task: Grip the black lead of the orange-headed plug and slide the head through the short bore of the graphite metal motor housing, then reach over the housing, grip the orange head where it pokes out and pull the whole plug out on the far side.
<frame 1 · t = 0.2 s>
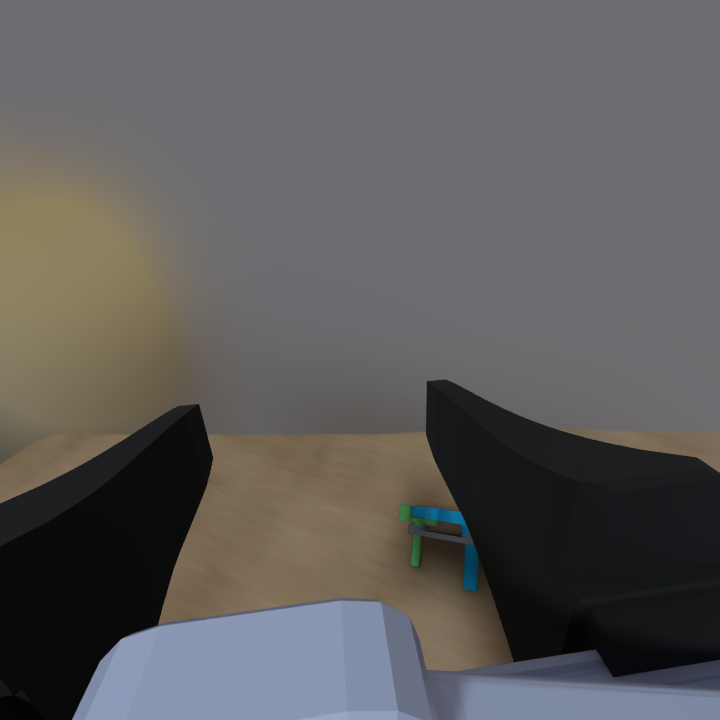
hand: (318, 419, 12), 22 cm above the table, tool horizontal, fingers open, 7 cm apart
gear: (464, 555, 32), on the table
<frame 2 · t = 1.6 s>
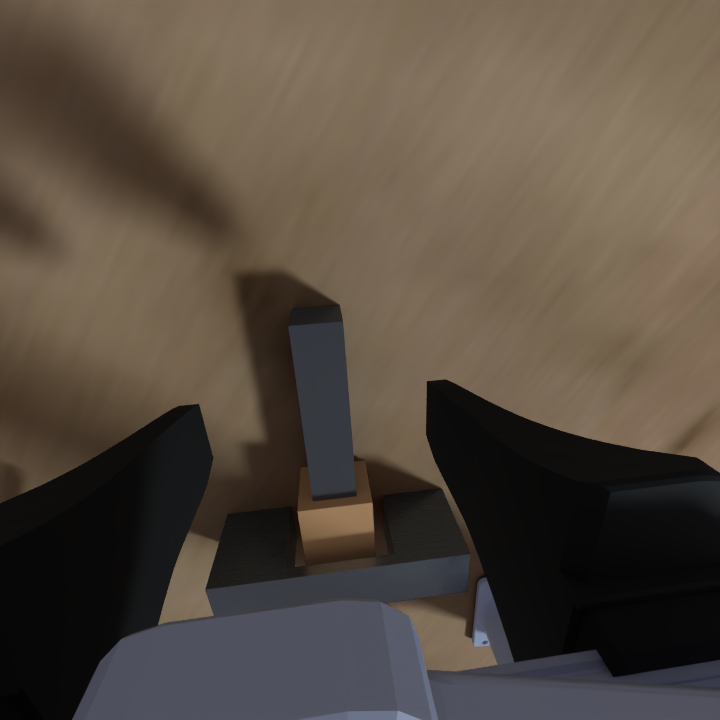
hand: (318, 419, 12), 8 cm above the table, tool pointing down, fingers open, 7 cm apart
housing: (338, 518, 25), on the table
plug: (336, 494, 24), on the table
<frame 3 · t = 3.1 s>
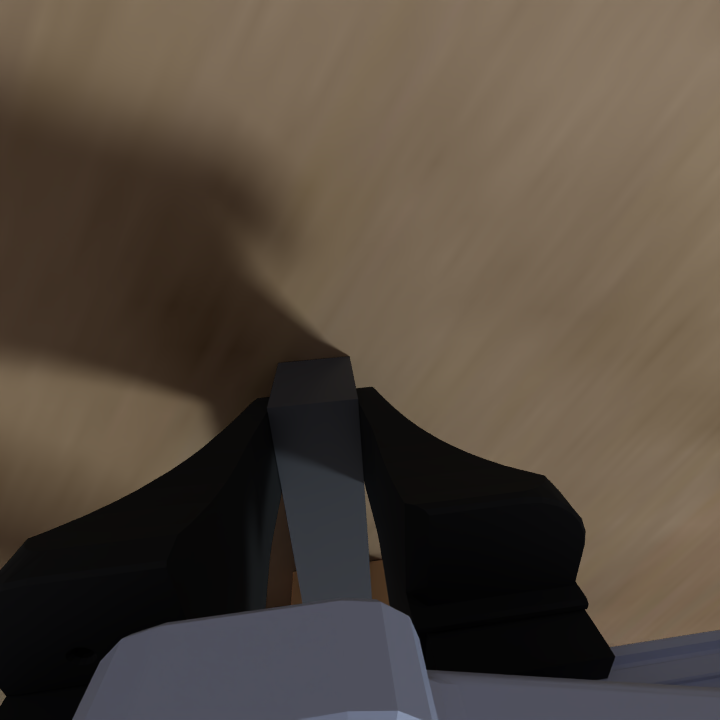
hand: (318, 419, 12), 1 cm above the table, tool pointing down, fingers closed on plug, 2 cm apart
plug: (342, 602, 17), on the table, touching gripper
when the fingers open (1 cm above the table, at t = 5.3 s): plug stays where it is, on the table.
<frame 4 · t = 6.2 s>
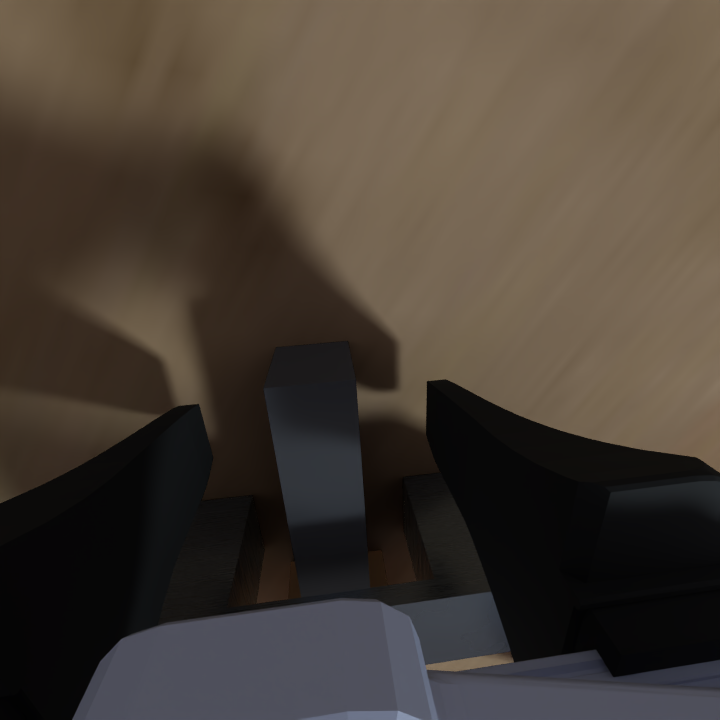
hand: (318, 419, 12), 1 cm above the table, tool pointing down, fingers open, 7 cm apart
housing: (332, 514, 15), on the table
plug: (341, 593, 17), on the table
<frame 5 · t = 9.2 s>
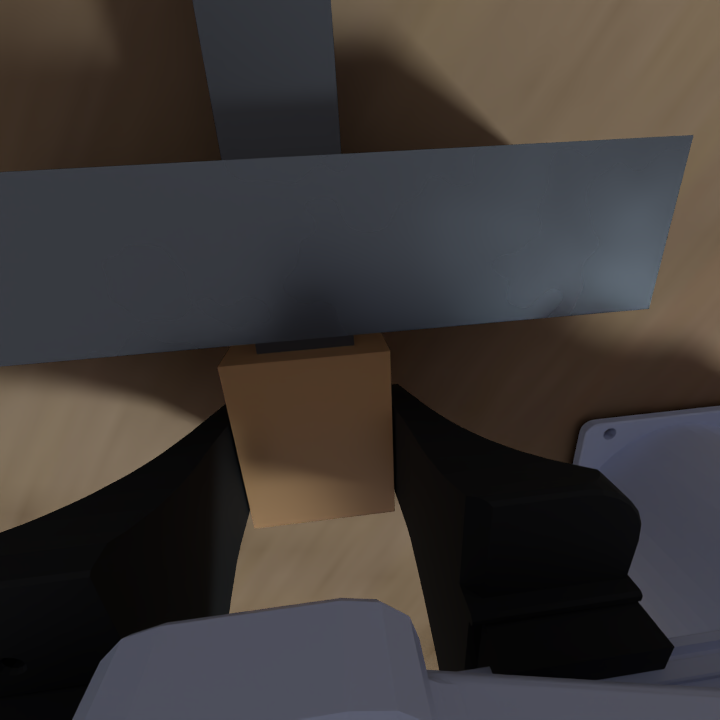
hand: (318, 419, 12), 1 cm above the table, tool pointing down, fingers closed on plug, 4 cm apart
housing: (300, 235, 11), on the table
plug: (317, 385, 13), on the table, touching gripper
when the fingers open (1 cm above the table, at t = 12.4 s): plug stays where it is, on the table.
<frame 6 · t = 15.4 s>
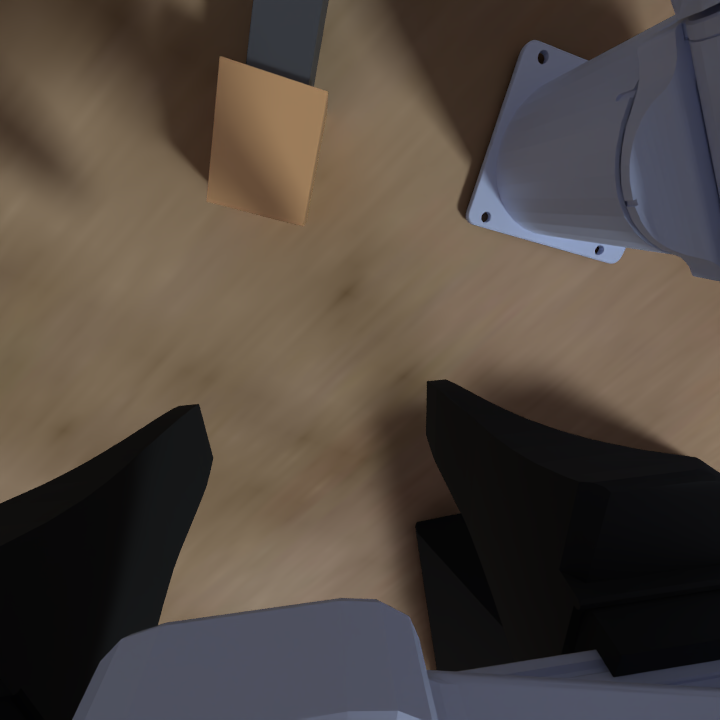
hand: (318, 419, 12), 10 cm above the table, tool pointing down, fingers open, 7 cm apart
device stand: (547, 583, 33), on the table
plug: (275, 158, 18), on the table
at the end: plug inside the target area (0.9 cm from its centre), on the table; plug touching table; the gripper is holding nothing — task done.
